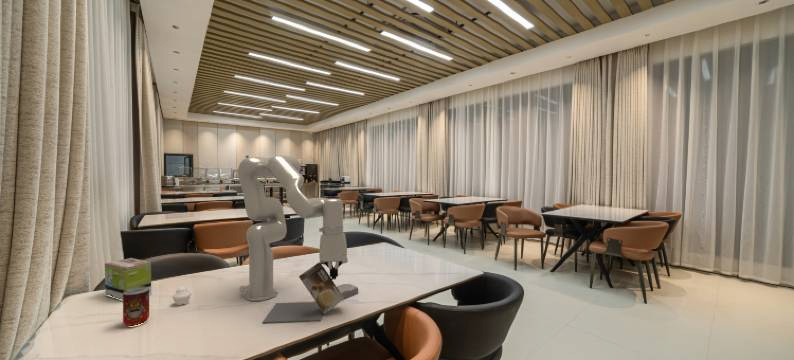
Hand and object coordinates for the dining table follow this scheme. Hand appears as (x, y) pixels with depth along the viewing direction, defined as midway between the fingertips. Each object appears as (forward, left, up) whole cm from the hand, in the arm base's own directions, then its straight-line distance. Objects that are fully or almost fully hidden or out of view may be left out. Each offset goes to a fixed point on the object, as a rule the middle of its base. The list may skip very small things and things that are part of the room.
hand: (334, 278), depth 118 cm
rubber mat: (-14, 0, -13) cm, 19 cm away
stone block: (+2, +17, -13) cm, 22 cm away
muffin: (-62, +12, -13) cm, 64 cm away
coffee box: (0, 0, -10) cm, 10 cm away
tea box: (-90, +23, -13) cm, 94 cm away
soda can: (-68, -4, -13) cm, 69 cm away
